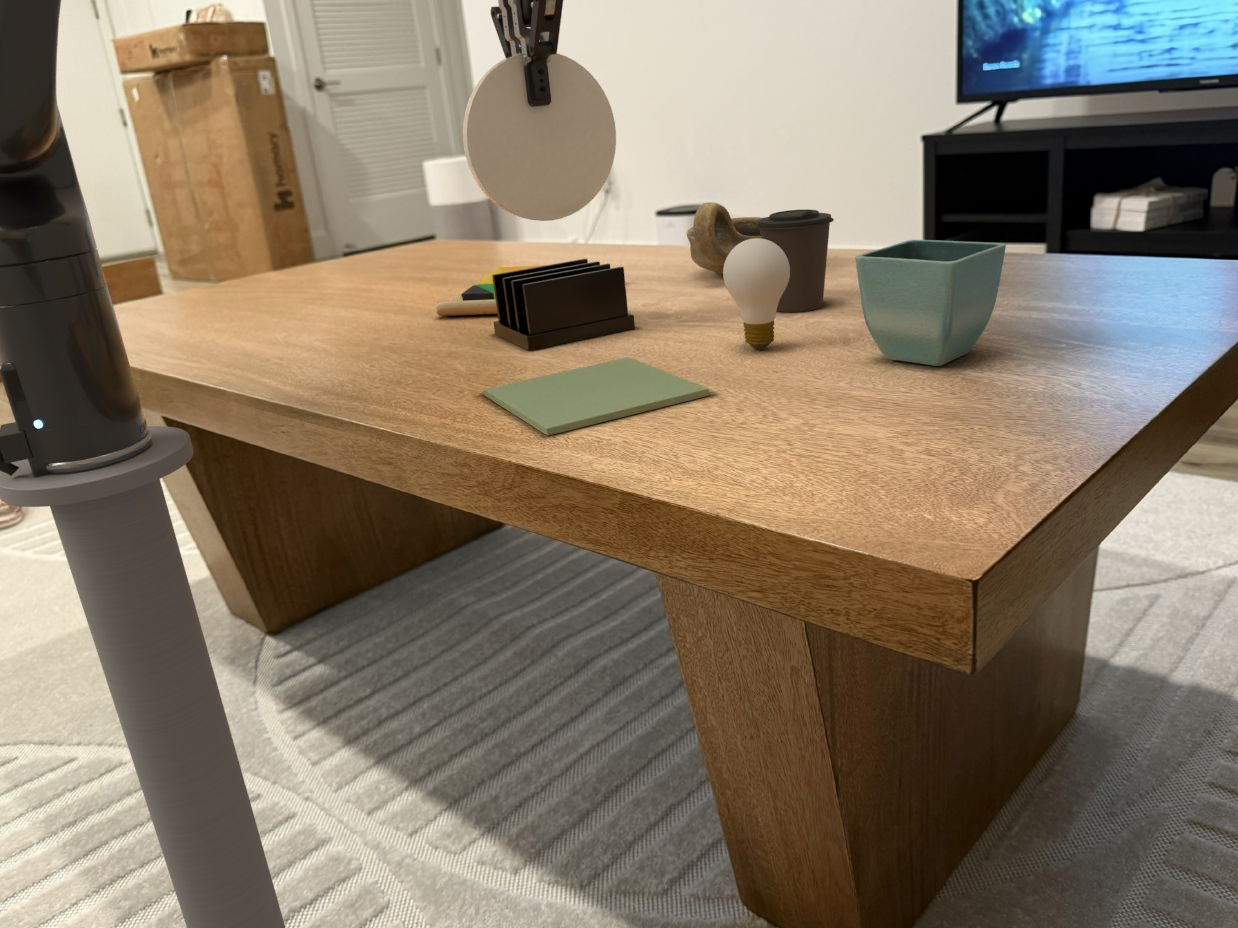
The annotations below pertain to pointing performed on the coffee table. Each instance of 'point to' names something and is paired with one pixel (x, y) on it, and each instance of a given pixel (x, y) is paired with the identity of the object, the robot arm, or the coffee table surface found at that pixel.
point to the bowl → (718, 235)
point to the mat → (592, 394)
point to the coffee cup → (800, 255)
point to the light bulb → (757, 286)
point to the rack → (560, 303)
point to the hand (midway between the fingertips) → (536, 105)
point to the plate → (539, 139)
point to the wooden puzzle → (476, 297)
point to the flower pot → (929, 297)
